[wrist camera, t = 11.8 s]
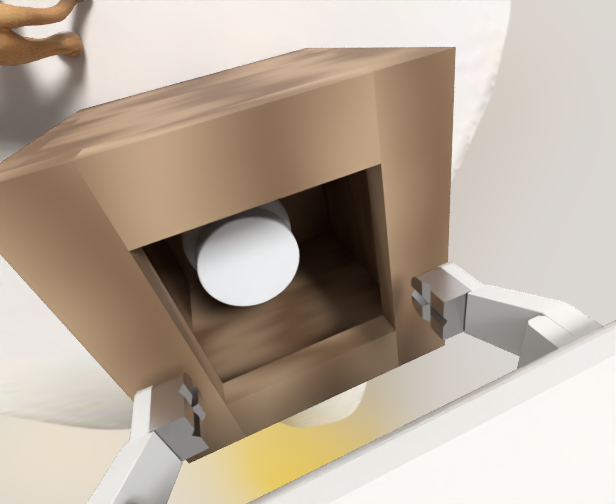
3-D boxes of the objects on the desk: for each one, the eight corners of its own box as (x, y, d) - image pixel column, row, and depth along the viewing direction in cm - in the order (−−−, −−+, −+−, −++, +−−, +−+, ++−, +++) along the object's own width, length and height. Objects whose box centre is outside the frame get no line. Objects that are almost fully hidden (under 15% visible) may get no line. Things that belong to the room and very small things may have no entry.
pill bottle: (268, 221, 25) (315, 296, 17) (192, 240, 24) (204, 332, 16) (253, 144, 22) (302, 192, 14) (165, 161, 21) (164, 226, 13)
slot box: (181, 290, 27) (189, 463, 16) (79, 109, 19) (-52, 197, 8) (339, 231, 29) (444, 345, 18) (306, 48, 22) (455, 47, 10)
